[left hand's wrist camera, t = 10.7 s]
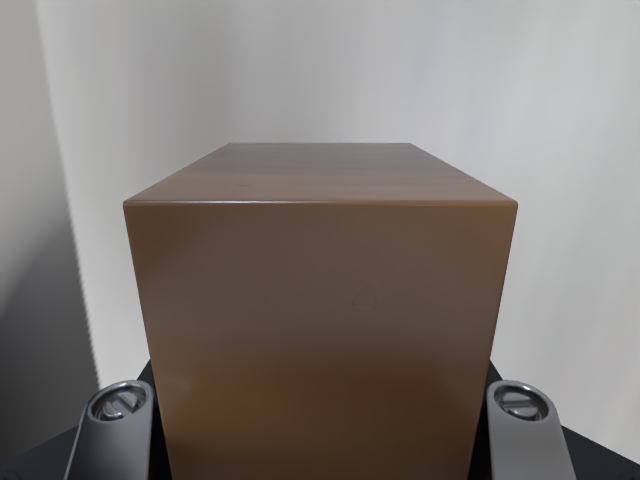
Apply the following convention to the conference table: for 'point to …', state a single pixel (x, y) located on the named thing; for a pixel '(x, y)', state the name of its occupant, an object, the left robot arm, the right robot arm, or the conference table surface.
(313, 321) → the post
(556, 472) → the left robot arm
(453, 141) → the conference table surface
